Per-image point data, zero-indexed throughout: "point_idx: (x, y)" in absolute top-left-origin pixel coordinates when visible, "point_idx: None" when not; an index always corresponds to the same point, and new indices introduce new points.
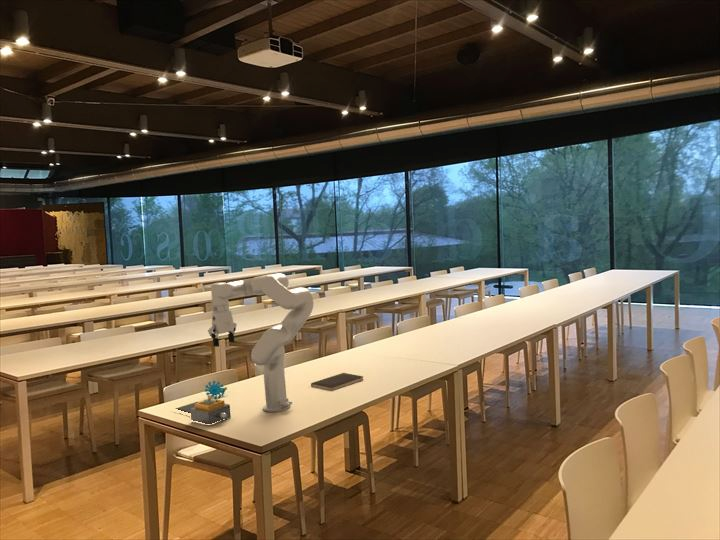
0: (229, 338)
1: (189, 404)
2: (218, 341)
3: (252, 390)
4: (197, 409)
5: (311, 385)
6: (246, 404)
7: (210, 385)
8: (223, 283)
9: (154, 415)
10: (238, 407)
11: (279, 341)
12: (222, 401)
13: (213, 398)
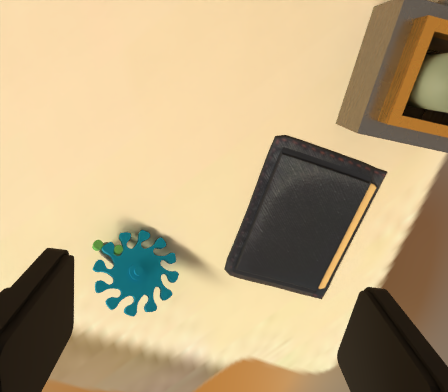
0: (49, 357)
1: (273, 272)
2: (413, 338)
3: (13, 159)
4: None
5: None
6: (195, 53)
7: (138, 298)
8: None
9: None
10: (241, 65)
11: None
12: (438, 18)
13: (435, 80)
